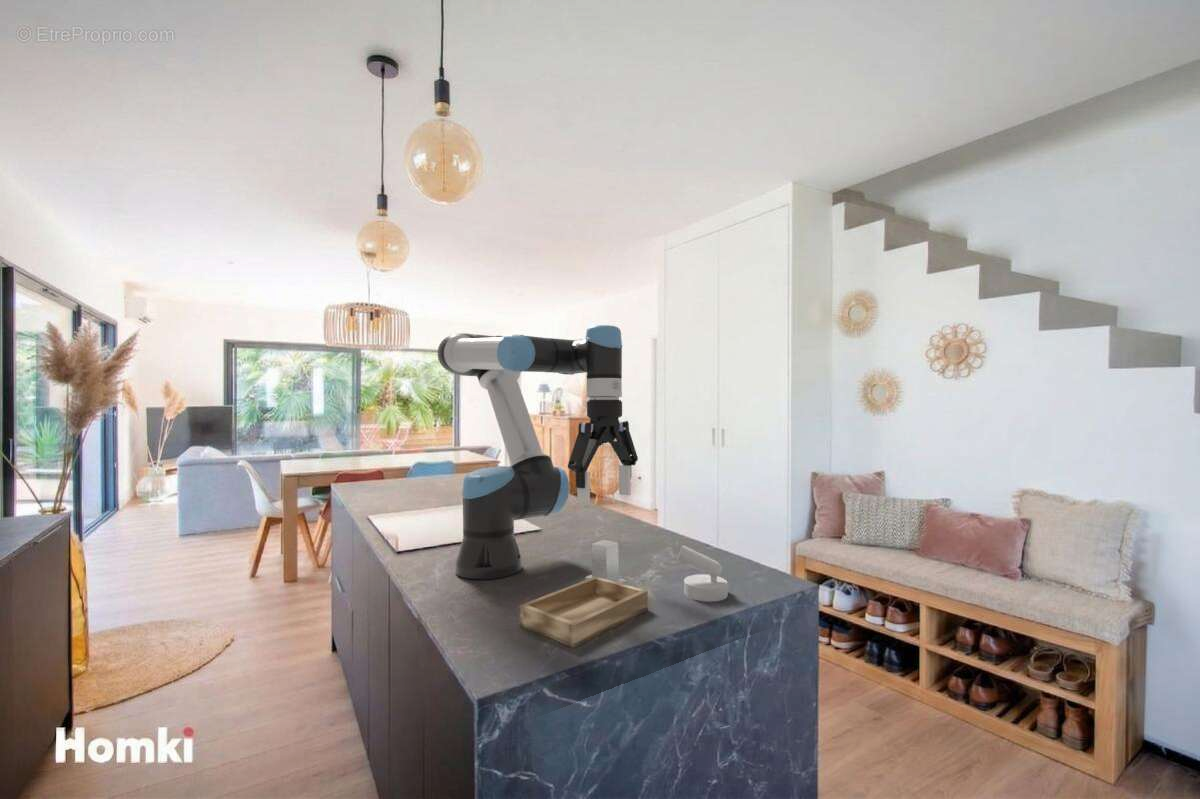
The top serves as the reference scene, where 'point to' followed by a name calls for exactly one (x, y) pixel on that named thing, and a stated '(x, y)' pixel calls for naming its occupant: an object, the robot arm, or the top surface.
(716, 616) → the top surface
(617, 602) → the wooden tray
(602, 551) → the frosted glass pillar
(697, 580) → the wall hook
